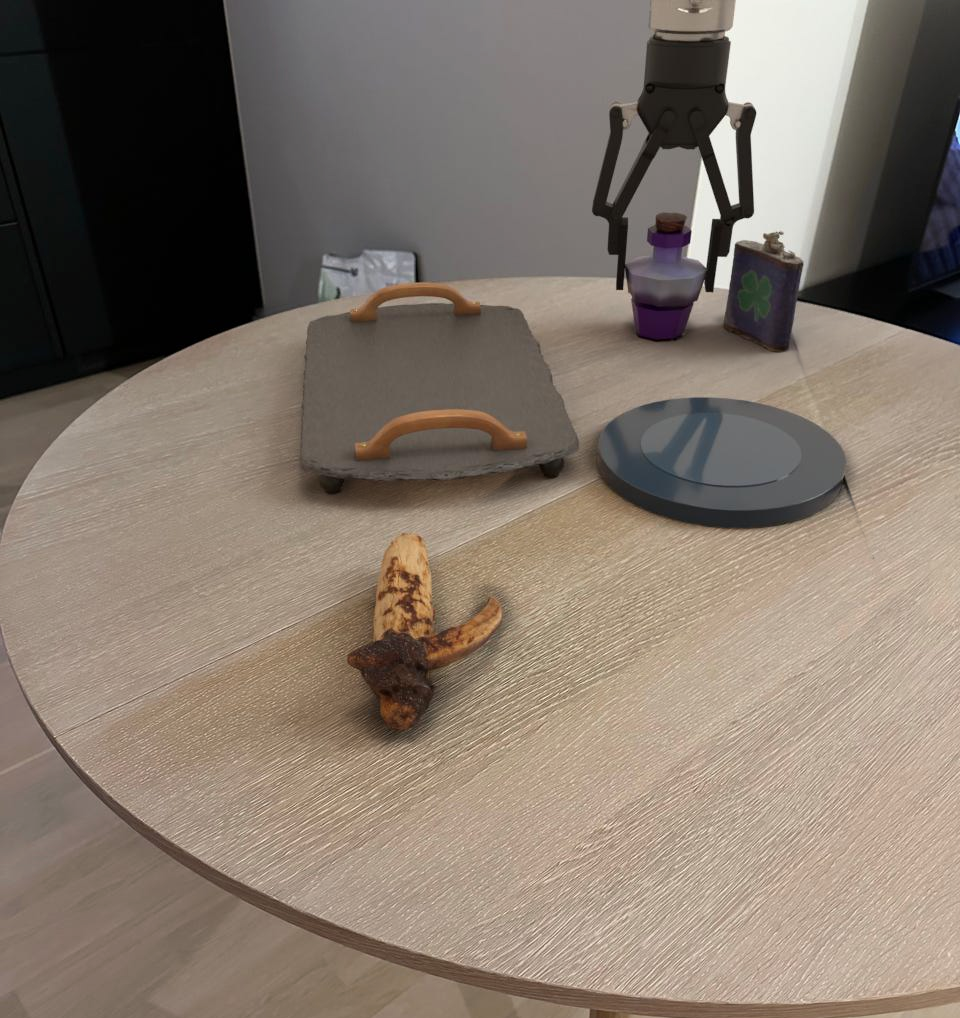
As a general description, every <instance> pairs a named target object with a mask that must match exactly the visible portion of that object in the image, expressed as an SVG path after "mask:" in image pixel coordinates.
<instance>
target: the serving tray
mask: <svg viewBox="0 0 960 1018" xmlns="http://www.w3.org/2000/svg"><path fill="white" fill-rule="evenodd" d="M413 297H414V298H415V297H434V298H441V299H446V300H448V301H450V302H451V303H443V302H431V303H430V302H429V303H428V302H427V303H413V304H395V305H387V306H382V305H383V304H384V303H386V302H389V301H393V300H397V299H398V300H399V299H403V298H413ZM305 341H306V342H305V354H304V360H305V363H304V364H305V366H304V370H303V371H304V372H303V377H304V378H303V380H304V381H303V385H302V388H303V390H302V403H301V409H302V412H301V413H302V415H301V431H300V446H299V447H300V451H299V465H300V469H301V470H302V471H303V472H305V473H311V474H315V475H318V476H317V481H318V484H319V485H318V486H319V487H320V488H321V489H322V490H323V491H324V493H325V494H326V495H332V496H333V495H338V494H339V493H341V492H342V488H344V485H345V481H346V479H347V480H348V479H354V480H363V481H377V482H379V481H380V482H394V481H395V482H397V481H431V482H432V481H448V480H460V479H464V478H471V477H472V478H473V477H480V476H485V475H491V474H492V475H493V474H499V473H505V472H506V473H507V472H511V471H518V470H521V469H526V468H530V467H533V466H536V465H538V468H539V471H541V473H542V476H543V477H545V478H547V479H555V478H558V477H559V476H560V473H562V471H563V470H564V468H565V458H566V457H568V456H570V455H573V454H575V453H577V452H578V451H579V450H580V441H579V438H578V434H577V432H576V431H575V429H574V426H573V425H572V424H573V423H572V420H571V418H570V417H569V414H568V413H567V409H566V406H565V402H564V398H563V397H562V395H561V394H560V392H559V391H558V390H557V389H556V386H555V385H554V382H553V374H552V372H551V369H550V366H549V364H548V362H546V361H545V359H544V356H543V355H542V350H541V346H540V342H539V341H538V340H537V339H536V338H535V337H534V334H532V330H531V328H530V326H529V324H528V321H527V320H526V318H525V314H524V313H523V311H522V309H520V308H518V307H517V308H515V307H511V306H507V305H488V304H481V302H480V301H471V300H468V299H467V298H465V296H464V295H462V294H461V293H460V292H459V291H457V289H455V288H453V287H452V286H450V285H448V284H445V283H440V282H439V283H438V282H429V281H428V282H427V281H426V282H425V281H424V282H423V281H422V282H421V281H419V282H405V283H397V284H392V285H388V286H385V287H382V288H380V289H378V290H377V291H375V292H374V293H372V294H371V295H370V296H369V298H367V300H366V301H365V303H363V304H362V306H360V307H357V308H350V309H349V312H345V313H344V312H343V313H339V314H333V315H325V316H322V317H319V318H317V319H313V320H310V322H309V323H308V326H307V330H306V339H305Z"/></svg>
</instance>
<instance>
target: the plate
mask: <svg viewBox="0 0 960 1018" xmlns="http://www.w3.org/2000/svg"><path fill="white" fill-rule="evenodd" d="M844 451H845V450H843V447H842V446H841V444H840V442H838V440H836V438H835V437H833V436H832V435H831V433H829V432H828V431H827V430H826V429H824V428H823V427H821V426H820V425H818V424H817V423H815V422H812V421H811V420H809V419H807V418H805V417H803V416H801V415H799V414H796V413H794V412H790V411H788V410H785V409H782V408H779V407H775V406H772V405H768V404H764V403H759V402H755V401H749V400H744V399H736V398H735V399H734V398H729V397H728V398H727V397H710V396H709V397H705V396H704V397H703V396H702V397H700V396H699V397H697V396H695V397H680V398H679V397H678V398H670V399H664V400H659V401H653V402H650V403H646V404H642V405H640V406H636V407H634V408H631V409H629V410H627V411H624V412H622V413H621V414H619V415H617V416H616V417H614V418H613V419H612V420H611V421H610V422H608V423H607V424H606V425H605V427H604V428H603V429H602V431H601V433H600V435H599V437H598V444H597V457H596V463H597V469H598V471H599V474H600V476H601V478H602V480H603V481H604V482H605V484H606V485H607V486H608V487H609V488H610V489H611V490H612V491H613V492H614V493H615V494H617V495H618V496H619V497H621V498H622V499H624V500H625V501H627V502H629V503H631V504H632V505H634V506H636V507H638V508H640V509H642V510H644V511H646V512H649V513H652V514H654V515H657V516H659V517H663V518H666V519H670V520H673V521H677V522H682V523H686V524H691V525H696V526H697V525H698V526H703V527H704V526H705V527H712V528H722V529H754V528H766V527H774V526H780V525H785V524H789V523H794V522H797V521H799V520H802V519H805V518H808V517H810V516H812V515H815V514H817V513H819V512H820V511H821V510H823V509H825V508H827V507H828V506H829V505H831V503H832V502H833V501H834V500H835V499H836V497H837V496H838V495H839V494H840V491H841V489H842V486H843V483H844V482H843V481H844V479H845V475H846V470H847V458H846V454H845V452H844Z"/></svg>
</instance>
